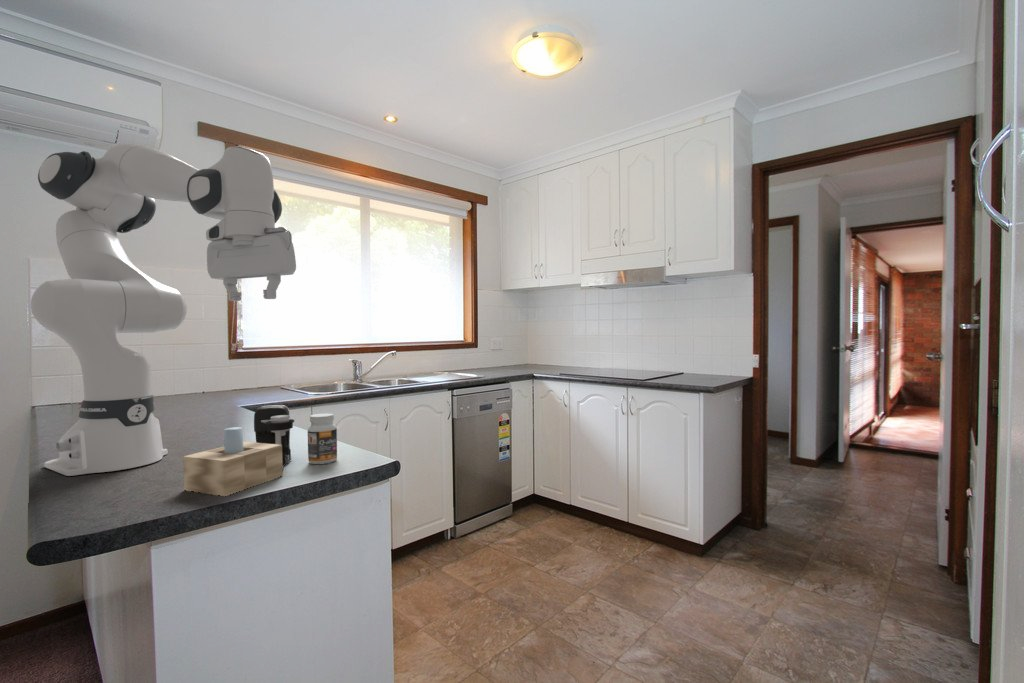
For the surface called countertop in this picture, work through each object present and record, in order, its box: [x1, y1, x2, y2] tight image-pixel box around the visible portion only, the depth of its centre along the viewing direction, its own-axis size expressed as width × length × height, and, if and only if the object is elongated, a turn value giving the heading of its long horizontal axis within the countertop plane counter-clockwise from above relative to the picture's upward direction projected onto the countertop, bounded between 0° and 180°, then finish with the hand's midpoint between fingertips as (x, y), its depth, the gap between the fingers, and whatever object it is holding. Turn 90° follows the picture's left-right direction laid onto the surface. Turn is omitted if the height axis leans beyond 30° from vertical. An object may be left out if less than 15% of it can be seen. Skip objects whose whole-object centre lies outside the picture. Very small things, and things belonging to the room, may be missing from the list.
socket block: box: [182, 440, 284, 497], centre depth 88 cm, size 10×12×6 cm
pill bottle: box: [307, 412, 338, 465], centre depth 102 cm, size 6×6×10 cm
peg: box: [223, 426, 244, 454], centre depth 88 cm, size 3×3×10 cm
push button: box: [266, 415, 295, 466], centre depth 100 cm, size 7×5×10 cm
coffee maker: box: [253, 404, 291, 449], centre depth 105 cm, size 7×4×11 cm, turn 107°
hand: (252, 299), depth 96 cm, fingers open, 8 cm apart
